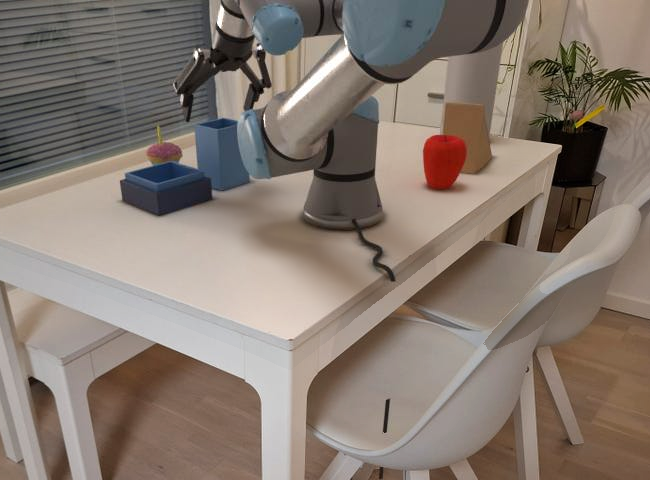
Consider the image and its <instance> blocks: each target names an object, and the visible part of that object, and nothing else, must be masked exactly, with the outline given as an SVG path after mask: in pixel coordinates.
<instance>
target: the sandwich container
mask: <svg viewBox="0 0 650 480" xmlns="http://www.w3.org/2000/svg"><path fill="white" fill-rule="evenodd" d="M443 135H451V136H456V137H459V138H461V139H463V140H464V141H465V144H466V147H467V155H466V160H465V163H464V165H463V168H462V170H461V172H460V173H462V174H463V173H464V174H471V175H475V174H476V173H477V172H478V171H480V170H482V169H483V167H485V165H486V164H487V163H488V162H489V161H490V160H492V159H493V153H492V148H491V142H490V135H489V136H488V130H487V124H486V117H485V107H484V105H481V104H471V103H454V102H447V103H446V106H445V116H444V126H443Z"/></svg>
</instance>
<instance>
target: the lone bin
mask: <svg viewBox="0 0 650 480" xmlns="http://www.w3.org/2000/svg"><path fill="white" fill-rule="evenodd" d="M237 125H238V120H237V119H232V118H228V117H219V118H215V119H212V120H206V121H203V122H199V123H195V124H194V125H193V128H194V140H195V153H196V165H197V169H199V170H202V171H204V172H205V176H206V177H209V178H211V186H212V189H215V190H218V191H220V192H221V191H225V190H227V189H228V190H229V189H232V188H235V187H238V186H241V185H244V184H247V183H250V181H251V176H250V174H249V173H248V171H247V170H246V168H245V166H244V164H243V161H242V158H241V154H240V150H239V145H238V135H237Z"/></svg>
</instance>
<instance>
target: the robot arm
mask: <svg viewBox="0 0 650 480" xmlns="http://www.w3.org/2000/svg"><path fill="white" fill-rule="evenodd" d="M529 2H530V0H220V1H219V3H218V11H217V16H216V21H215V25H214V31H213V36H212V44H211V45H210V47H209V48H208V49H206V48H202V46H201V45H196V46H195V47H194V50H193V54H192V56H191V57H190V58H189V60H188V61H187V63H186V65H185V66H184V67H183V68H182V70H181V71H180V72H179V74H178V75H177V76H176V78H175V79H174V81H173V83H172V86H173V88H174V92H175V93H176V95H177V96H180V98H179V102H180V104H181V107H182V116H183V119H184V121H185V123H191V116H192V111H193V106H194V105H193V104H194V99H195V97H194V93H195V92H196V91H197V90H198V89H199V88H200V87H202V85H204V84H205V83H206V82H207V81H208V80H209V79H210V78H212V77H215V76H217V75H218V74H219V73H226V72H237V71H238V70H239V69H240V70H241V72H242V73H243V74H244V75H245V77H246V78H247V80H249V82H250V83H249V84H248V88H247V92H246V97H245V100H244V103H243V108H242V109H243V110H244V111H243V112H241V114H240V115H239V117H238V120H237V121H238V125H237V135H238V145H239V150H240V154H241V158H242V161H243V164H244V166H245V168H246V170H247V171H248V173H249V175H250V177H251V178H253V179H255V180H271V179H272V178H277V177H278V178H279V177H283V176H288V175H293V174H298V173H299V174H300V173H304V172H311V171H313V172H312V173H313V174H312V176H313V177H312V181H311V183H310V186H309V189H308V193H307V196H306V200H305V202H304V204H303V219H304V220H305V221H306V222H307V223H309V224H311V225H312V226H315V227H318V228H322V229H326V230H335V231H337V230H338V231H351V230H355V231H356V232H357V235H358V237H359V239H360V241H361V242H362V244H364V245H365V246H368V247H370V248H373V249H375V250H376V251H377V253H376V254H375V255H374V256H373V258H372V264H373V265H374V266H375V267H377V268H379V269H381V270H384V271H385V272H386V273H387V274H388V277H389V279H390V282H392V283H394V282H396V278H395V274H394V272H393V270H392V269H391V268H390V267H389V266H388V265H387V264H385V263H381V262H379V261H378V260H379V259H380V258H381V257H382V255H383V253H384V250H383V248H382V247H381V246H380V245H379V244H376V243H374V242H371V241H369V240H368V239H366V237H364V234H363V231H362V229H365V228H369V227H372V226H374V225H376V224H377V223H379V222H380V221H381V220H382V218H383V203H382V200H381V196H380V192H379V188H378V185H377V180H376V165H377V149H378V148H377V147H378V133H379V124H380V112H379V110H380V109H379V102H378V99H377V98H375V96H373V95H374V94H375V93H376V92H377V91H379V90H380V89H381V88H382V87H383V86H385V85H398V84H402V83H404V82H407V81H408V80H409V79H411V78H413V77H414V76H415V75H416V74H417V73H419V71H421V70H422V69H423V68H425V67H426V66H427V65H428V64H430V63H431V62H433V61H436V60H438V59H441V58H442V59H443V58H448V57H450V56H458V55H465V54H474V53H479V52H484V51H486V50H489V49H492V48H494V47H496V46H498V45H499V44H501V43H502V42H503V43H504V42H505V41H507V40H508V39H509V38H510V37H511V36H512V35H513V34H514V33H515V31H516V30H517V29H518V27H519V26H520V25H521V24H522V22H523V20H524V17H525V16H526V14H527V10H528V6H529ZM338 35H339V36H340V35H341V36H340V37H339V38H338V39H337V40H336V41H335V43H333V45H332V46H330V48H329V49H327V51H326V52H325V54H323V56H322V57H321V58H320V59H319V60H318V61H317V62H316V63H315V64H314V66H313V67H311V69H310V70H309V71H308V72H307V74H305V76H303V78H302V79H301V80H299V82H298V83H297V84H296V85H295V87H293V89H288V90H284V91H281V92H279V93H277V94H275V95H274V96H273V97H272V98H271V99H270V100H269V101H268V103H267V104H266V105H264V107H261V108H255V109H254V106H255V103H258V102H259V100H260V96H261V95H263V94H264V93H265V90H264V89H268V90H269V89H271V88H272V87H273V85H272V84H273V83H272V81H271V77H270V73H269V70H268V67H267V63H266V57H267V54H269V55H271V56H283V55H286V54H287V52H290V51H291V52H292V51H293V50H295V49H296V48H297V47H298V45H300V42H301V41H302V40H303V39H307V38H308V39H309V38H314V37H325V36H326V37H327V36H338ZM255 40H257V43H256V45H255V46H254V42H255ZM252 56H253V58H254V59H256V61H257V65H258V69H259V72H260V76H261V78H260V79H259V78H258V77H259V76H258V75H257V74H256V73H255V72H254V70H253V69H252V68H251V66H250V65H249V64H248V61H249V60H250V59H251V58H252ZM390 403H391V398H387V399H385V403H384V412H383V413H384V414H383V424H382V433H383V432H384V433H386V432H387V433H388V425H389V415H390V406H391V405H390ZM384 467H385V466H384ZM384 467H380V466H379V470H378V471H379V472H378V479H379V480H383V479H384Z"/></svg>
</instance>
